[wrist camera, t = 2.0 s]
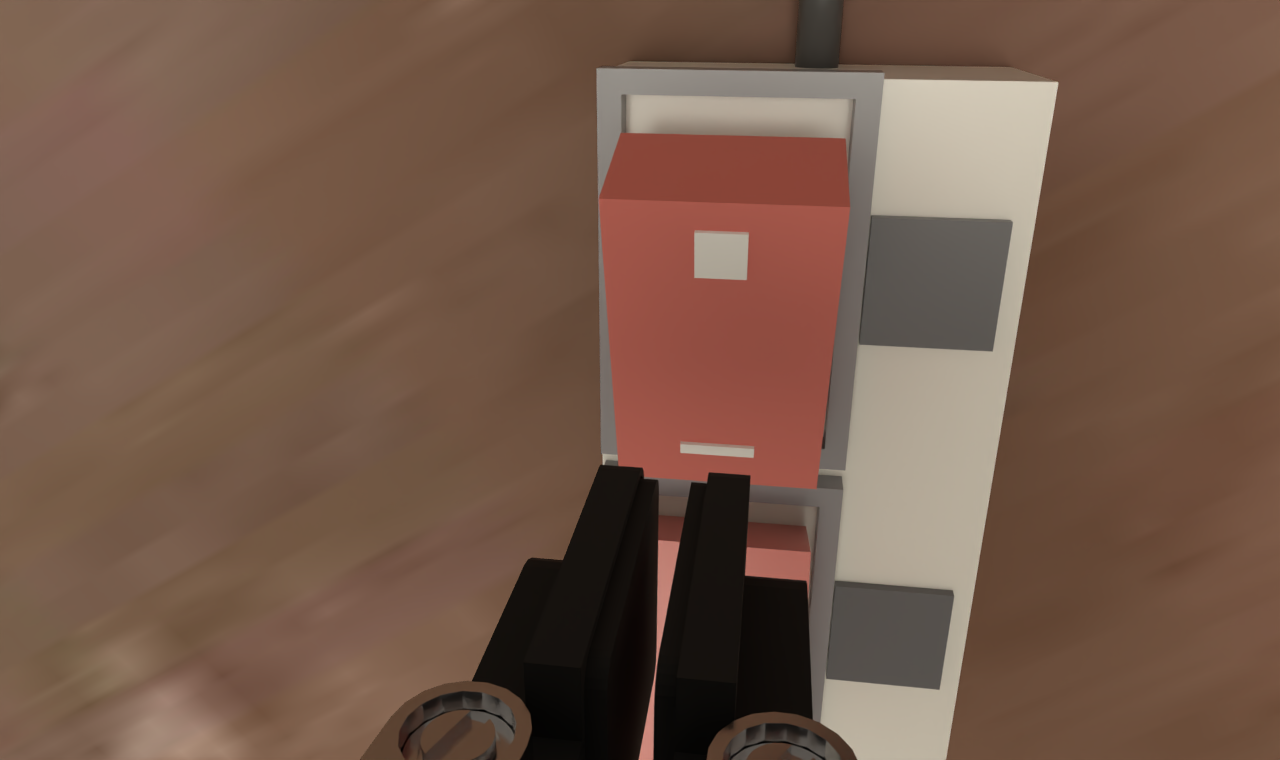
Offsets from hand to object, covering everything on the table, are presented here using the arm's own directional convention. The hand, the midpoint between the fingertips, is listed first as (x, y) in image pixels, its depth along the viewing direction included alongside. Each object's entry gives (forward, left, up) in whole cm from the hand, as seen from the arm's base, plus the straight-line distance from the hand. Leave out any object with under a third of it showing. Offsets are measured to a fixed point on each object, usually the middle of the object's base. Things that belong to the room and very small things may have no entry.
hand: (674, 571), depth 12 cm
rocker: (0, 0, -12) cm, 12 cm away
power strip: (-2, +4, -19) cm, 20 cm away
